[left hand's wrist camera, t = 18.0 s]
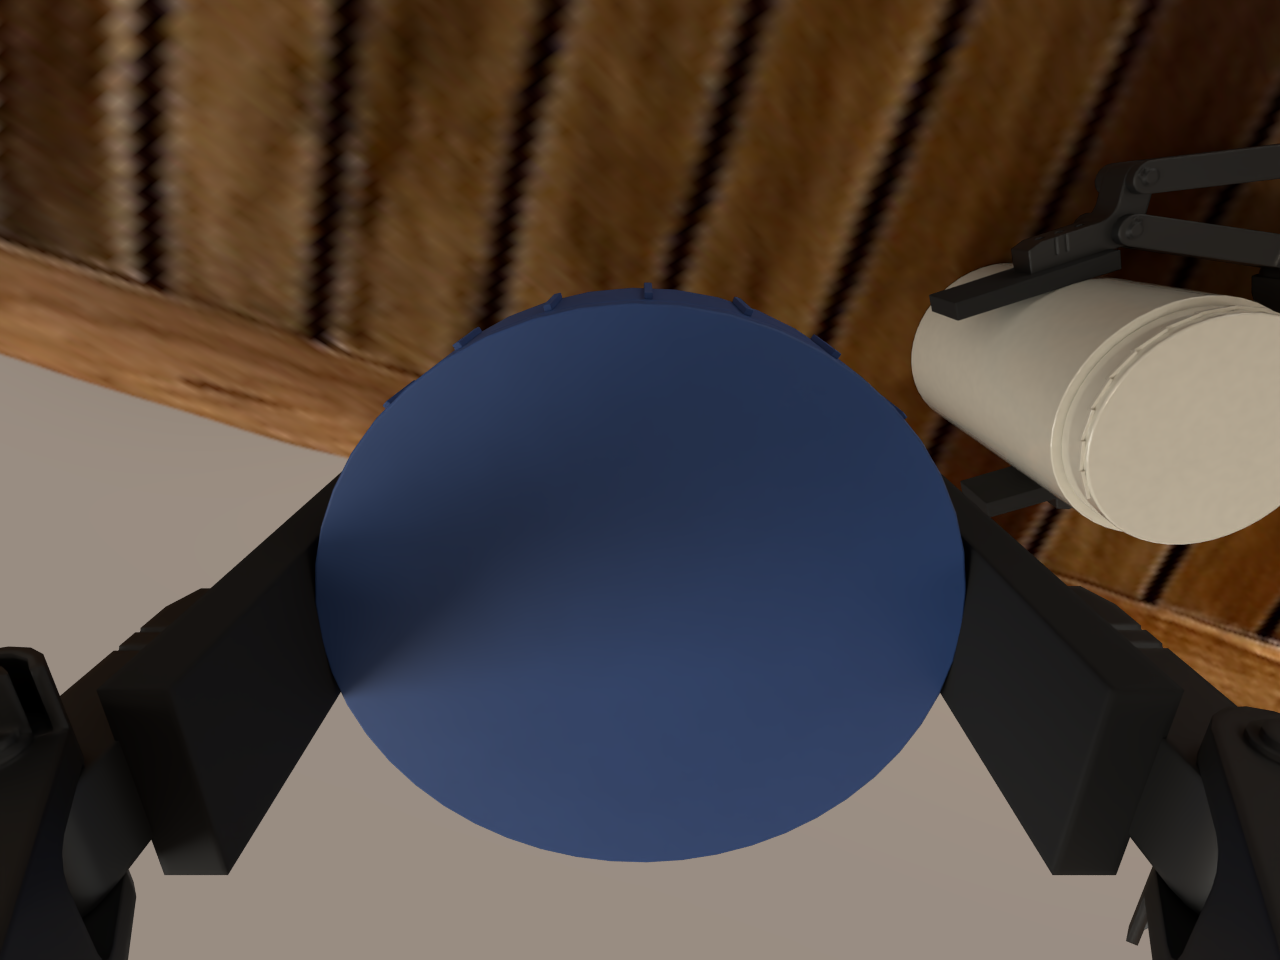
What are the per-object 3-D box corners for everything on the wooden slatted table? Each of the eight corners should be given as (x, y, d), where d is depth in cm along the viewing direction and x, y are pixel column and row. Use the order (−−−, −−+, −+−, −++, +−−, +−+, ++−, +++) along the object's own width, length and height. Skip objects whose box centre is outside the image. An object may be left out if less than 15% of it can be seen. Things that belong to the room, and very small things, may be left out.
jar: (1056, 232, 34) (1342, 251, 20) (1092, 384, 37) (1364, 493, 23) (889, 309, 35) (1050, 376, 22) (937, 450, 38) (1105, 589, 24)
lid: (281, 665, 13) (226, 734, 11) (498, 150, 10) (467, 138, 8) (731, 849, 15) (742, 932, 13) (1045, 468, 11) (1115, 514, 10)
